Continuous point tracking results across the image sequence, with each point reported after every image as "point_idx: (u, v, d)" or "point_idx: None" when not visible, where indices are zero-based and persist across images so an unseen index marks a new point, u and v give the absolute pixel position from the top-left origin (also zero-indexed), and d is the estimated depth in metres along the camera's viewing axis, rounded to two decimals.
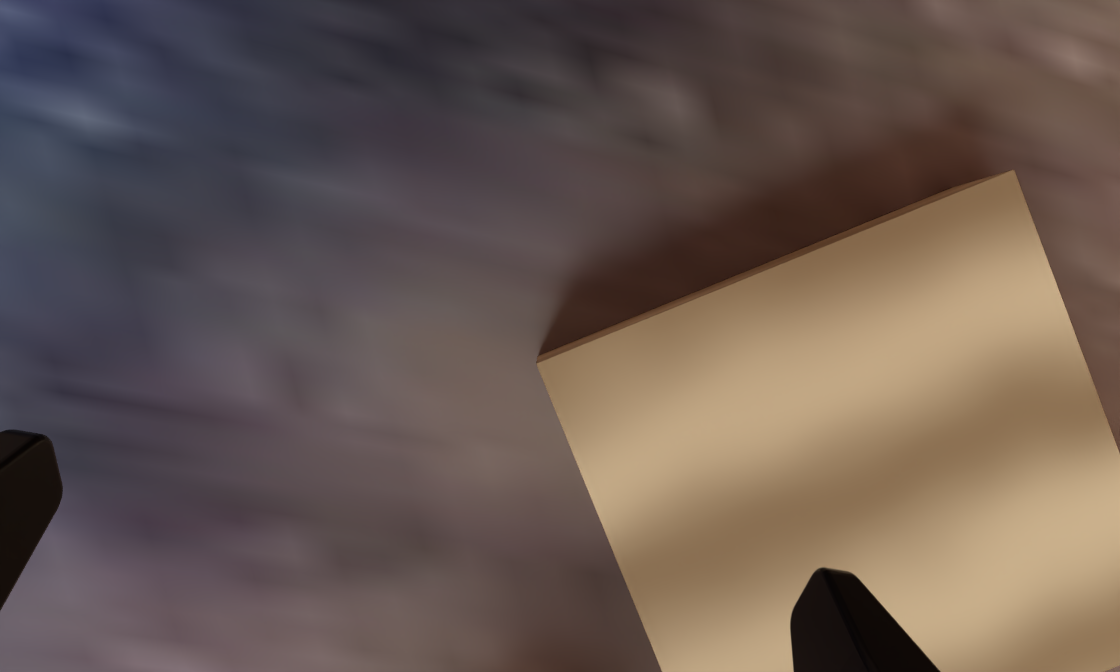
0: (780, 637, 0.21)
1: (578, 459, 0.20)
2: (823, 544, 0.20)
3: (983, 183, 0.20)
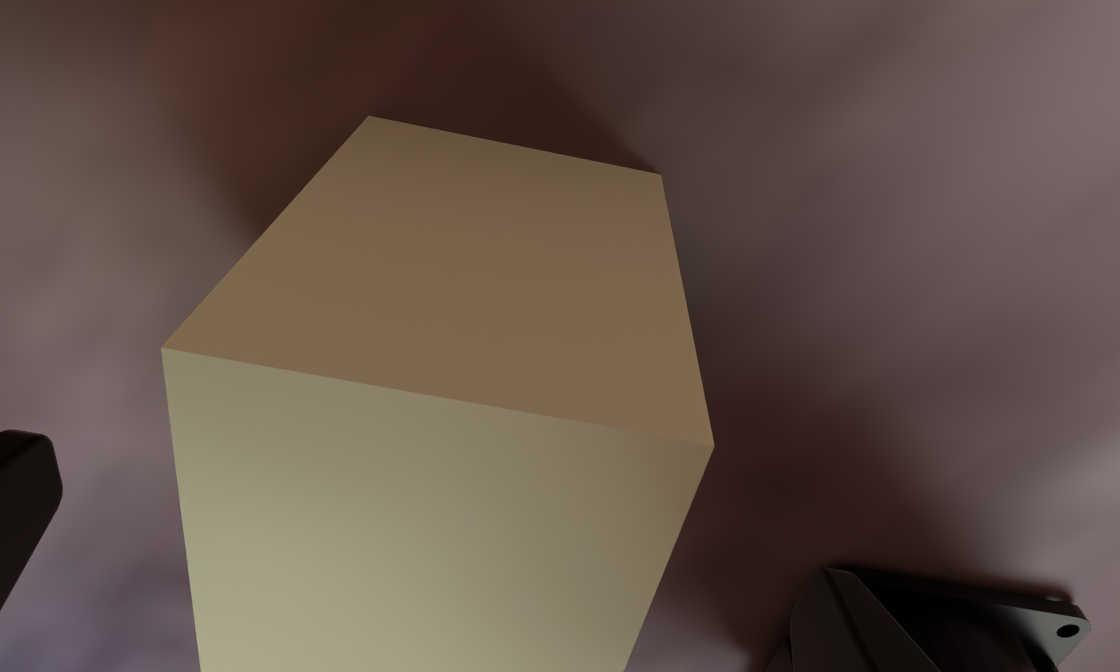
0: None
1: None
2: None
3: None
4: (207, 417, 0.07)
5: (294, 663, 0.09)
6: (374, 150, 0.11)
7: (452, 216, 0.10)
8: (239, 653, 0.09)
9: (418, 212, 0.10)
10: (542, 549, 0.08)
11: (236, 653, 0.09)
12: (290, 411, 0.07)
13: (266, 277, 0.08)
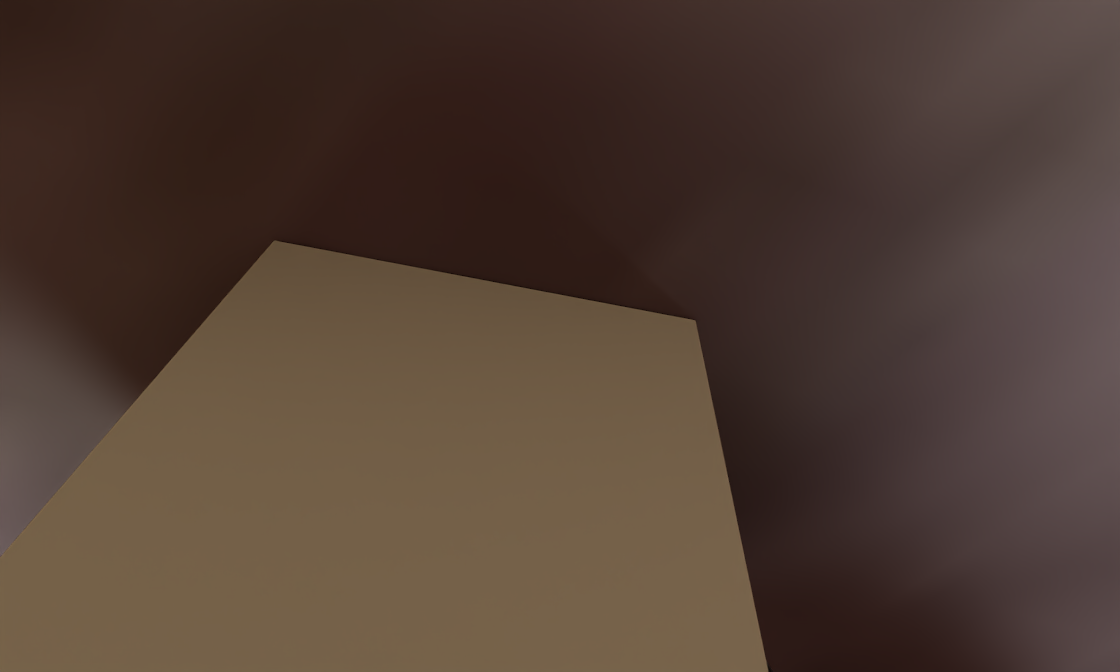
0: None
1: None
2: None
3: None
4: None
5: None
6: (266, 314, 0.07)
7: (368, 459, 0.06)
8: None
9: (309, 458, 0.06)
10: None
11: None
12: None
13: None
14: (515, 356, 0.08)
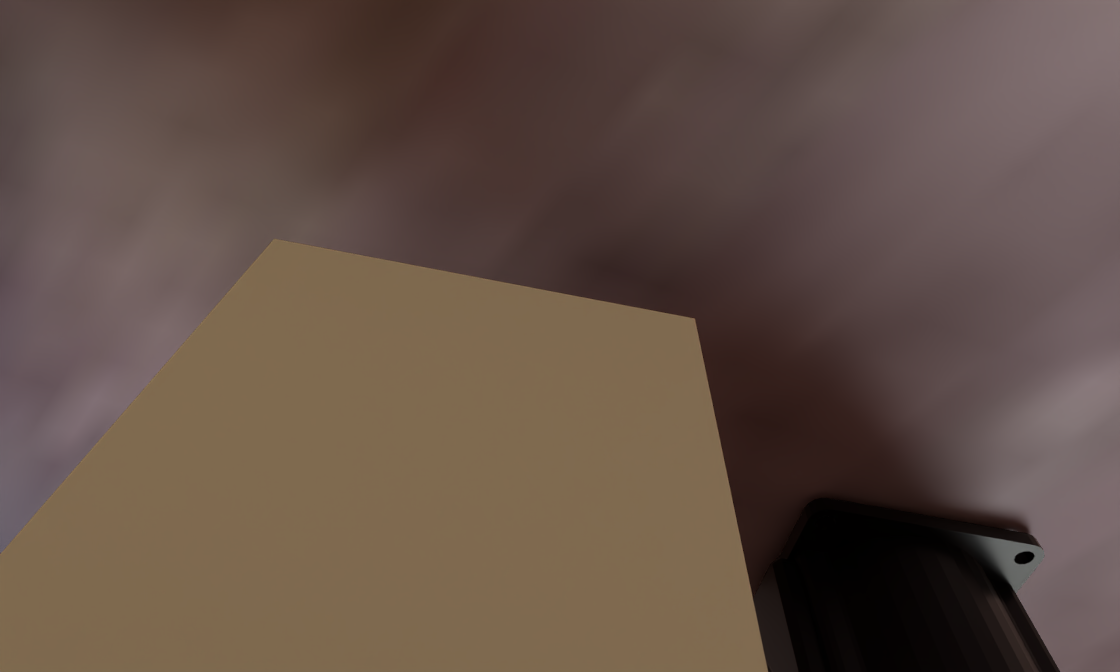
0: None
1: None
2: None
3: None
4: None
5: None
6: (267, 312, 0.07)
7: (369, 455, 0.06)
8: None
9: (310, 455, 0.06)
10: None
11: None
12: None
13: None
14: (515, 354, 0.08)
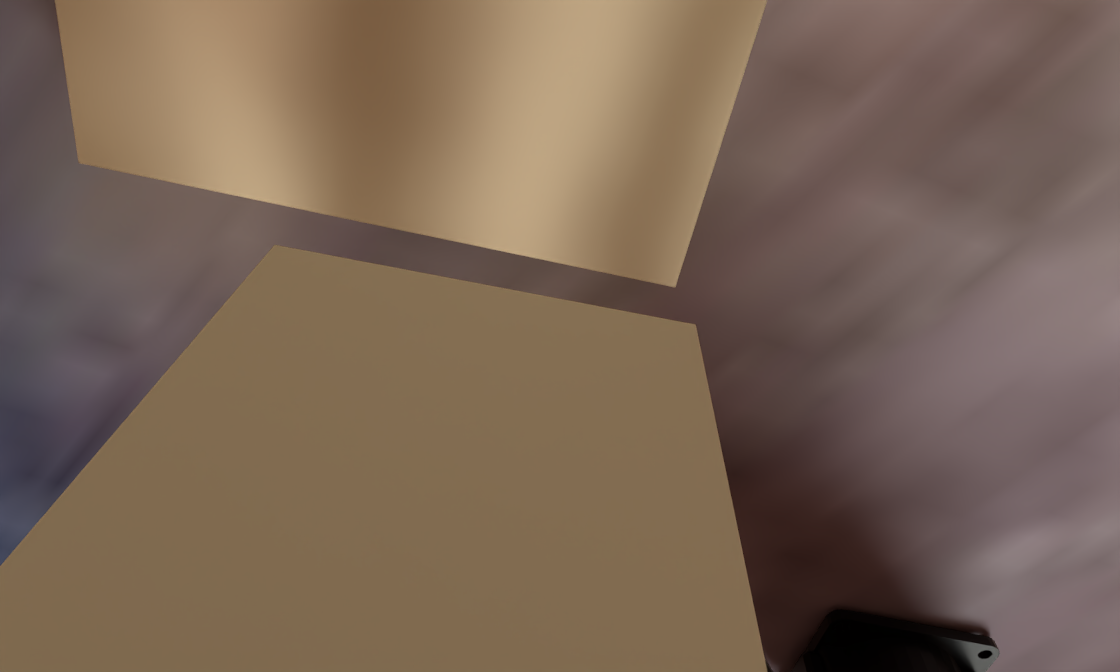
0: (517, 105, 0.16)
1: (205, 185, 0.17)
2: None
3: None
4: None
5: None
6: (267, 319, 0.07)
7: (369, 465, 0.06)
8: None
9: (310, 464, 0.06)
10: None
11: None
12: None
13: None
14: (516, 361, 0.08)
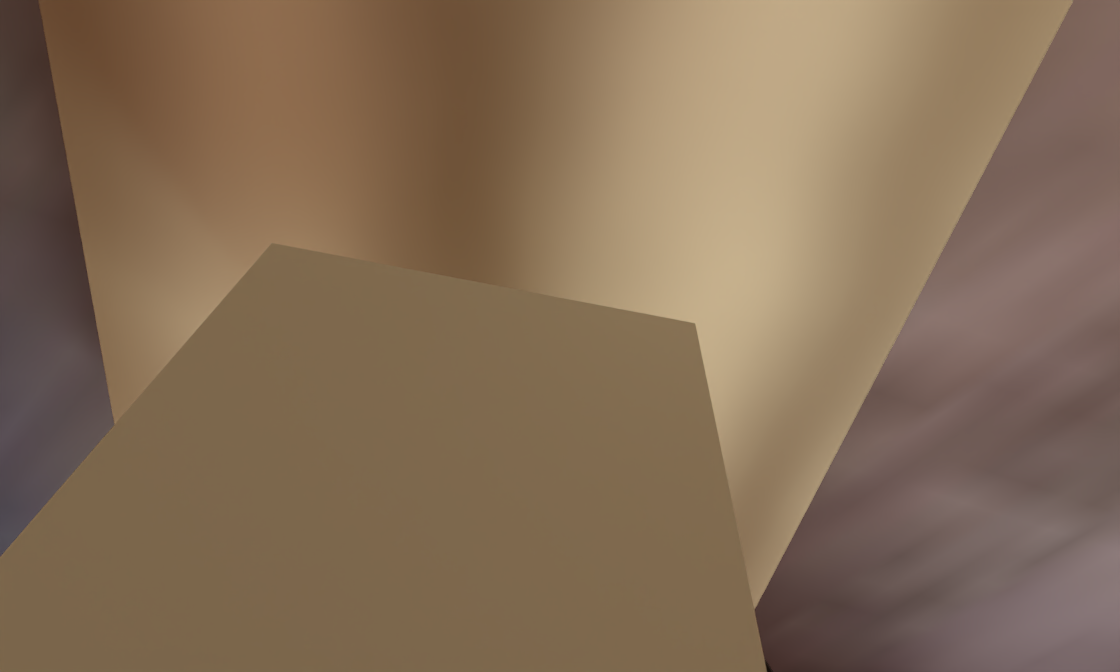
0: None
1: None
2: None
3: None
4: None
5: None
6: (265, 318, 0.07)
7: (366, 464, 0.06)
8: None
9: (306, 464, 0.06)
10: None
11: None
12: None
13: None
14: (514, 360, 0.07)
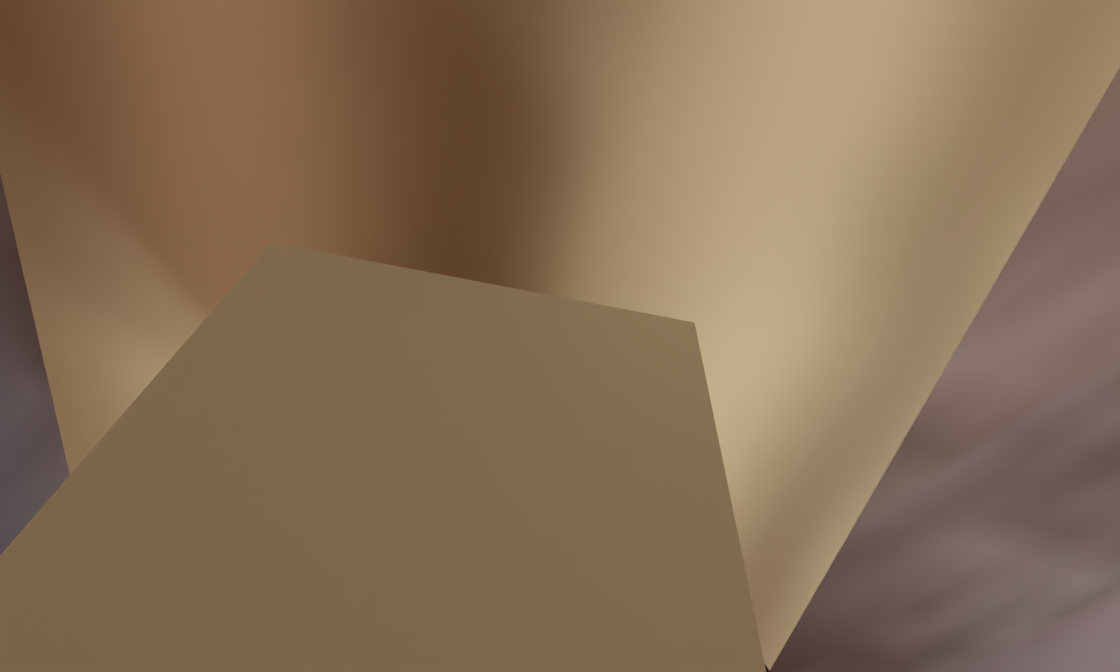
0: None
1: None
2: None
3: None
4: None
5: None
6: (264, 316, 0.07)
7: (365, 462, 0.06)
8: None
9: (306, 462, 0.06)
10: None
11: None
12: None
13: None
14: (513, 359, 0.07)
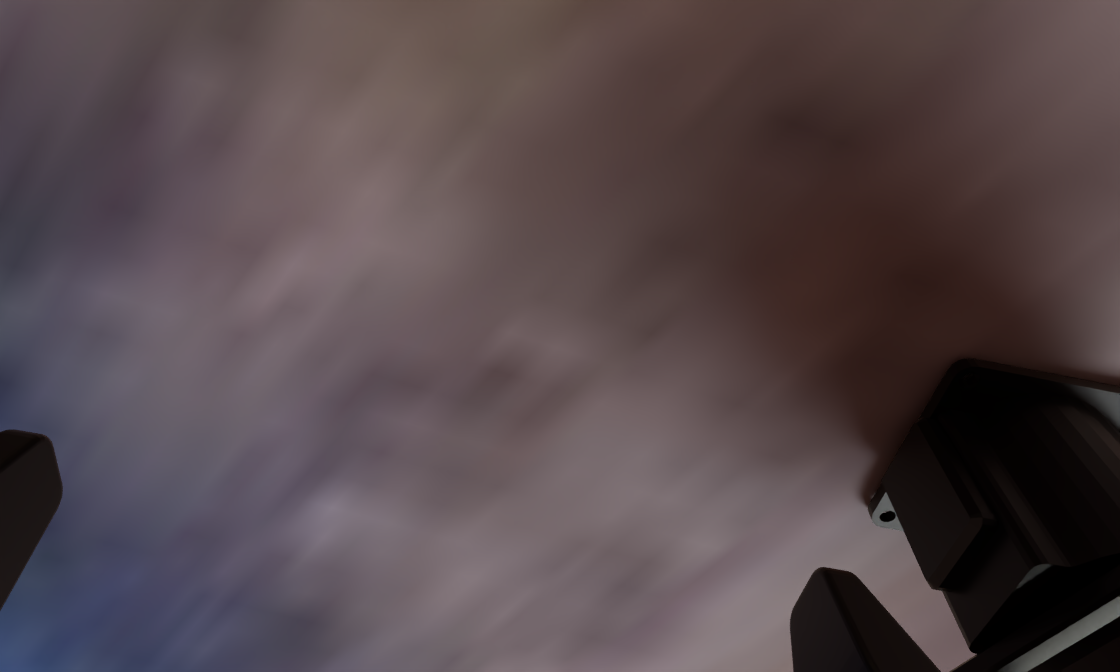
0: None
1: None
2: None
3: None
4: None
5: None
6: None
7: None
8: None
9: None
10: None
11: None
12: None
13: None
14: None
